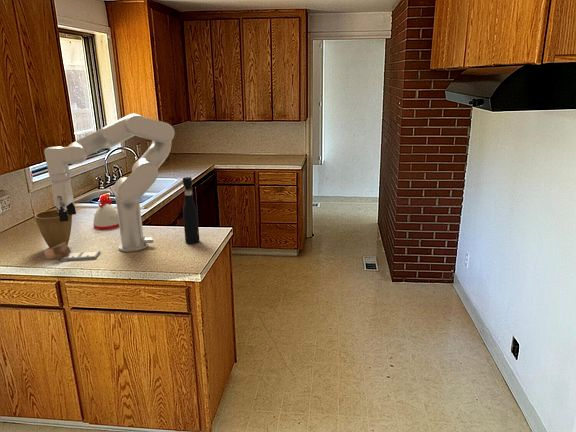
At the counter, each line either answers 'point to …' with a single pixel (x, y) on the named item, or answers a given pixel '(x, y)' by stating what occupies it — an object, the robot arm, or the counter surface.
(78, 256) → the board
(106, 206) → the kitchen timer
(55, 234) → the plant pot
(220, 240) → the counter surface
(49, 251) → the tan round lump
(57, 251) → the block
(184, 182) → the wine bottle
